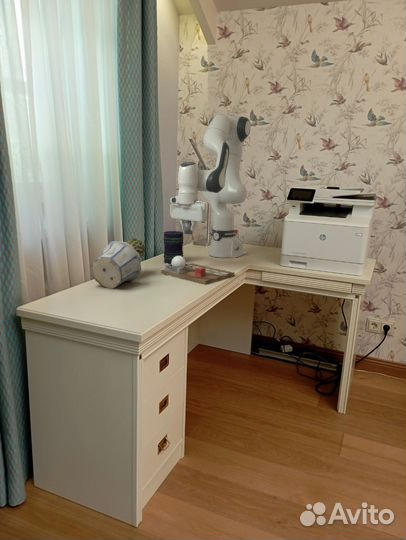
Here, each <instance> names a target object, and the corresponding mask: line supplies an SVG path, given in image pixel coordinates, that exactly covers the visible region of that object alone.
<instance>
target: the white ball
mask: <svg viewBox="0 0 406 540" xmlns="http://www.w3.org/2000/svg"><path fill="white" fill-rule="evenodd" d="M171 264H172V266H173V267H177V268H180V267H185V265H186V264H187V261H186V259H185V257H184V256H183V257H182V256H176V257H174V258H173V259H172V262H171Z"/></svg>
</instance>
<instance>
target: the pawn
mask: <svg viewBox="0 0 406 540" xmlns="http://www.w3.org/2000/svg"><path fill="white" fill-rule="evenodd" d="M191 226H192V223H191V221H189V220H185V222H184V229H183V230H184V232H183V235H184V234H185V235H192V234H193V231H190V227H191Z"/></svg>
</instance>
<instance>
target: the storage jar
mask: <svg viewBox="0 0 406 540" xmlns="http://www.w3.org/2000/svg"><path fill="white" fill-rule="evenodd" d="M163 247H164V251H163V263H164V264H166V263H168V264H171V262H172V259H173V258H174V257H176V256H182V257H183V258H184V250H183V249H184V248H183V247H184V232H183V231H179V230H168V231H164V232H163ZM168 264H167V265H168Z"/></svg>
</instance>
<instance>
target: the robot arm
mask: <svg viewBox="0 0 406 540" xmlns="http://www.w3.org/2000/svg"><path fill="white" fill-rule="evenodd" d="M251 128H252V124H251V121H250V119H249V118H248V117H246V116H237V115H236V116H235V115H225V114H217V115H215V116H214V117H212V118H210V120H209V121H208V126H207V129H206V130H205V132H204V135H203V138H202V144H203V147H204V148H205V150H207V152H209V153H210V154H211V155H215V156H216V157H217V158H216V163H215V167H214V168H213V169H201V168H199V167H198V166H197V165H198V164H197V163H196V162H193V161H188V162H187V161H186V162H183V163H181V164H179V167H178V174H177V175H178V176H177V177H178V178H177V183H178V192H177V193H178V194H177V195H176V196H172V197H171V198H169V202H170V205H169V215H170V218H171V219H175V220H179V223H180V225H181V229H182V230H184V222H185V220H189V221H191V223H192V226H191V227H190V231H192V232H194V231H195V228H196V226H197V223H205V222H207V220H208V213H207V207H206V206H207V205H206V203H205V202H204V201H203V200H199V192H201V193H202V197H203V199H204V200H205V201H206V202H207V203H208V205H209V207H210V210H211V214H212V230H211V236H212V237H211V240H210V248H209V251H208V253H209V256H211V257H215V258H223V259H225V258H231V259H232V258H233V259H235V258H236V259H237V258H238V257H241V256H244V255H247V254H248V251H246V250H244V245H243V242H242V241H241V240H240V239H239V238H238V237H237V236H236V234H239V230H238V229H234V223H235V215H234V214H233V212H232V211H230V209H229V208H228V206H227V204H229V205H230V204H231V205H238V204H243V202H245V200H246V199H247V198H248V197H247V196H248V190H247V188H246V186H245V185H244V184H243V182H242V180H241V176H240V169H241V162H242V156H243V144H244V143H243V142H244V141H245V140H246V139H247V138H248V136H249V135H250V132H251V131H252V130H251Z"/></svg>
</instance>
